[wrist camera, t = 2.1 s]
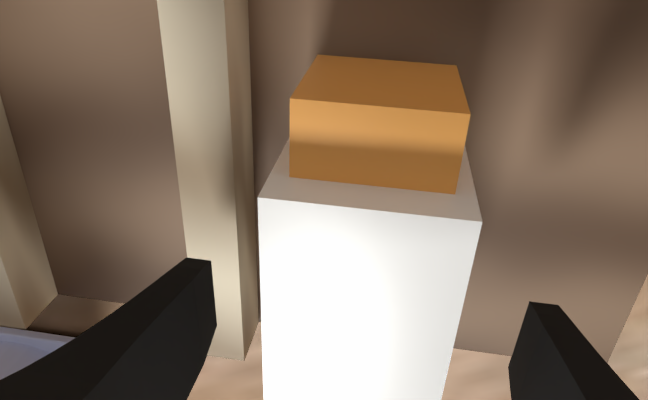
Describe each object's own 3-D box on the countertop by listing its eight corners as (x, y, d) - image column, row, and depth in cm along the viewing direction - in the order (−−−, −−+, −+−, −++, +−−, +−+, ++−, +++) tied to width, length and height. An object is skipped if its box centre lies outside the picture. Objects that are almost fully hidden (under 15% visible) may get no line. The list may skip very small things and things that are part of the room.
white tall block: (417, 343, 17) (420, 488, 13) (301, 327, 18) (265, 463, 13) (470, 57, 12) (501, 136, 8) (307, 44, 13) (255, 113, 8)
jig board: (594, 346, 17) (624, 416, 15) (1, 267, 20) (-56, 317, 17) (760, -43, 11) (855, -30, 9) (-124, -89, 14) (-239, -88, 11)
